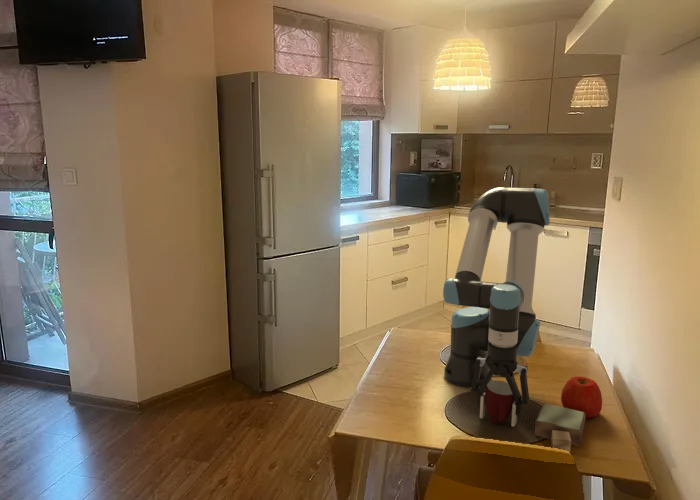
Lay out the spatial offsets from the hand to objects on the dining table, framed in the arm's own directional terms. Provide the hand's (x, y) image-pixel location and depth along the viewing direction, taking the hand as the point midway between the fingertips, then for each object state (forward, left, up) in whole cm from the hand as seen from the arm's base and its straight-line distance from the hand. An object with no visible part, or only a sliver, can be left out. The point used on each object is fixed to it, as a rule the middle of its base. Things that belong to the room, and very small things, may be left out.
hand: (497, 420), depth 146 cm
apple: (+19, +17, -1) cm, 26 cm away
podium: (+16, +4, -1) cm, 16 cm away
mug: (0, 0, -1) cm, 1 cm away
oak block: (+17, -5, -1) cm, 18 cm away
